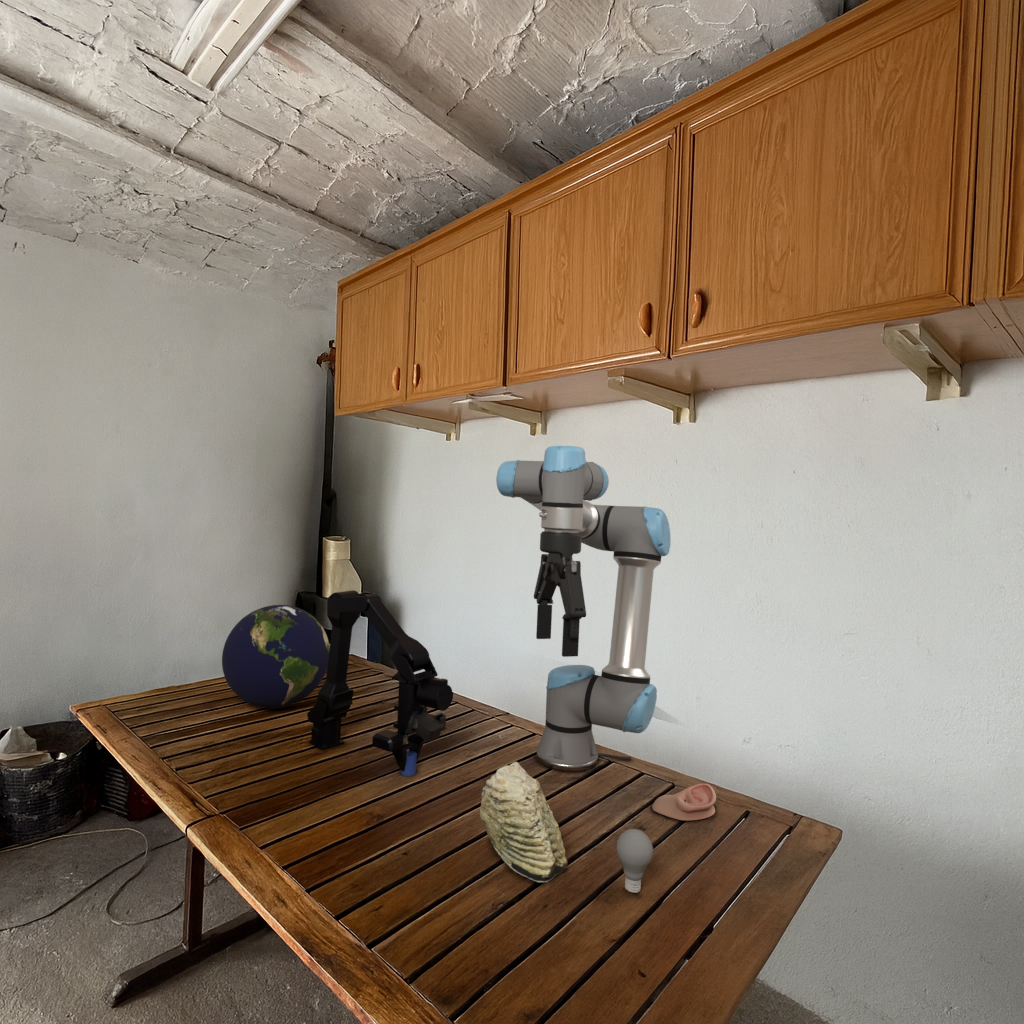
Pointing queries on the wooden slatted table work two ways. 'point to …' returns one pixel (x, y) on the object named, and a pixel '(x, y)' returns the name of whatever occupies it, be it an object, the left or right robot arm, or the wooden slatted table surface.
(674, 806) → the anatomical model
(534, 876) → the fossil
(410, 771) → the cylinder
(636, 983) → the wooden slatted table surface
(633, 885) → the light bulb
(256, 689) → the globe
